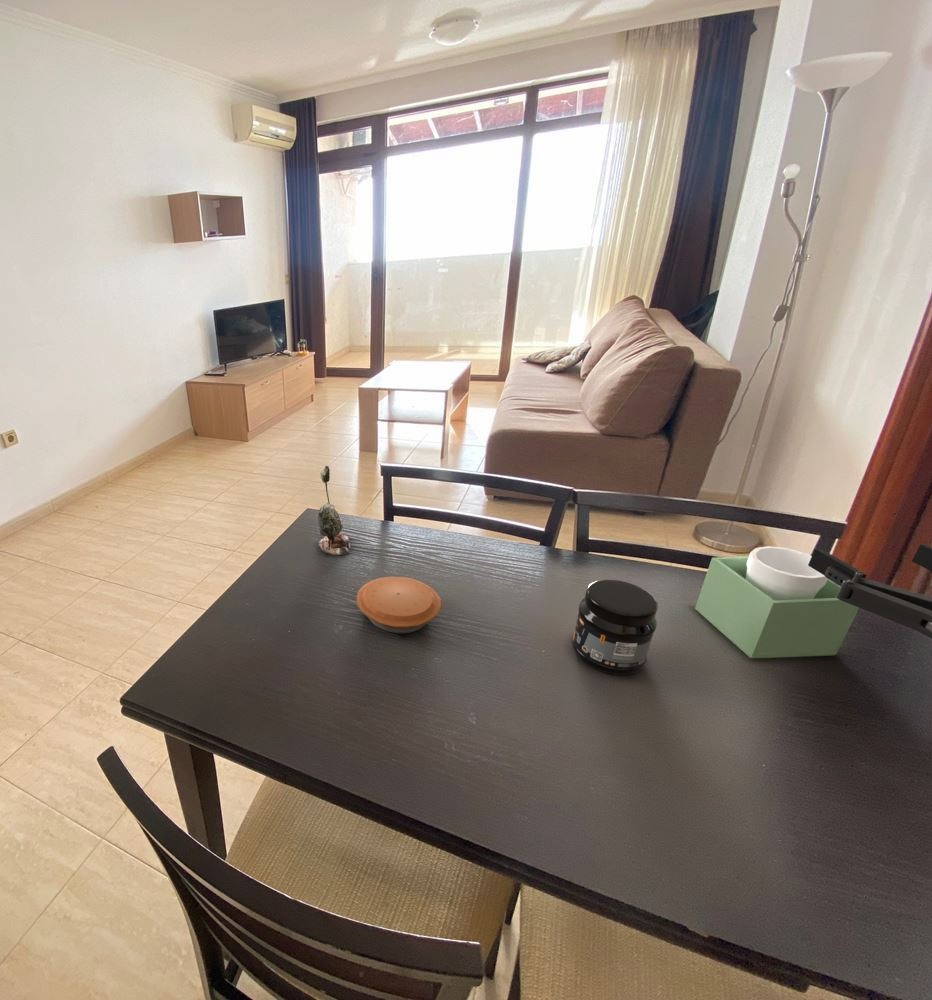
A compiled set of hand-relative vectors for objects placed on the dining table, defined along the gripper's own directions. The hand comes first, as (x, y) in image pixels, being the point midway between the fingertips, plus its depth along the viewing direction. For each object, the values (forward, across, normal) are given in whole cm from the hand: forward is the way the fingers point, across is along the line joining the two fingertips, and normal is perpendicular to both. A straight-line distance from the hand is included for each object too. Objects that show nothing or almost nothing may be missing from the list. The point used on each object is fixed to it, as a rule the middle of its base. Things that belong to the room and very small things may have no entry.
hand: (865, 554), depth 74 cm
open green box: (+10, 0, -21) cm, 23 cm away
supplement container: (+5, -28, -21) cm, 36 cm away
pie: (+18, -60, -22) cm, 66 cm away
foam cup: (+9, 0, -20) cm, 22 cm away
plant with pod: (+44, -70, -22) cm, 85 cm away
